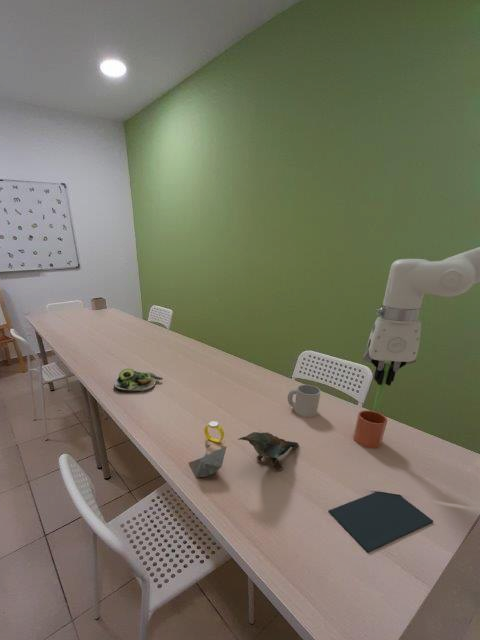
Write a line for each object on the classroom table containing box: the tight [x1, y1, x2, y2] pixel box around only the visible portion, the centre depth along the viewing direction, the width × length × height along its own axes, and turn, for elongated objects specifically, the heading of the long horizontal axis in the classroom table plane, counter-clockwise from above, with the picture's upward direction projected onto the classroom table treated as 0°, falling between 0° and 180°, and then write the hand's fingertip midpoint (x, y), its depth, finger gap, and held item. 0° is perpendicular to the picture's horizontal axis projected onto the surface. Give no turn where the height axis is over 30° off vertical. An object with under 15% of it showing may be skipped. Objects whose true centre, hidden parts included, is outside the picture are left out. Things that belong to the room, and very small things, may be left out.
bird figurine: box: [237, 431, 300, 472], centre depth 78 cm, size 13×10×20 cm
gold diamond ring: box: [203, 420, 225, 444], centre depth 88 cm, size 6×3×6 cm, turn 57°
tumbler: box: [352, 409, 388, 449], centre depth 85 cm, size 7×7×8 cm
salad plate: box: [113, 368, 164, 393], centre depth 125 cm, size 19×18×5 cm
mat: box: [328, 490, 434, 554], centre depth 63 cm, size 18×10×1 cm, turn 110°
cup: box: [287, 384, 321, 418], centre depth 100 cm, size 7×10×9 cm
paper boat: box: [188, 444, 228, 478], centre depth 77 cm, size 12×6×9 cm
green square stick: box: [372, 362, 390, 413], centre depth 79 cm, size 1×1×14 cm
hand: (382, 382), depth 79 cm, fingers closed on green square stick, 1 cm apart
